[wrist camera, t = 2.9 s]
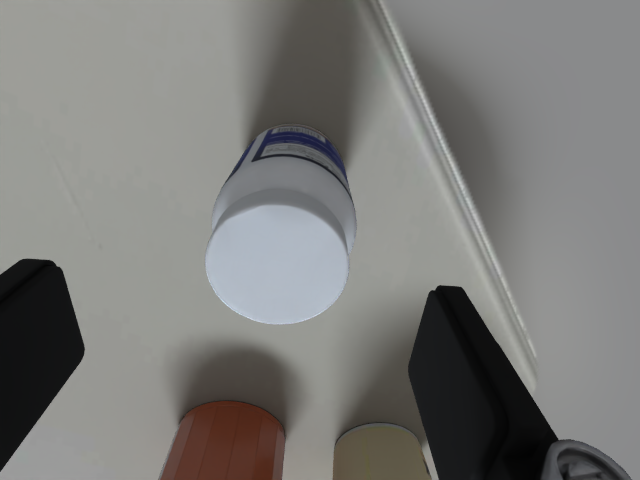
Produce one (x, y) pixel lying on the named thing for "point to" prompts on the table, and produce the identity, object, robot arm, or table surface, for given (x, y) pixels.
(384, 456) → the coffee cup
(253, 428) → the pen cup
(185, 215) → the table surface
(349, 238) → the pill bottle
